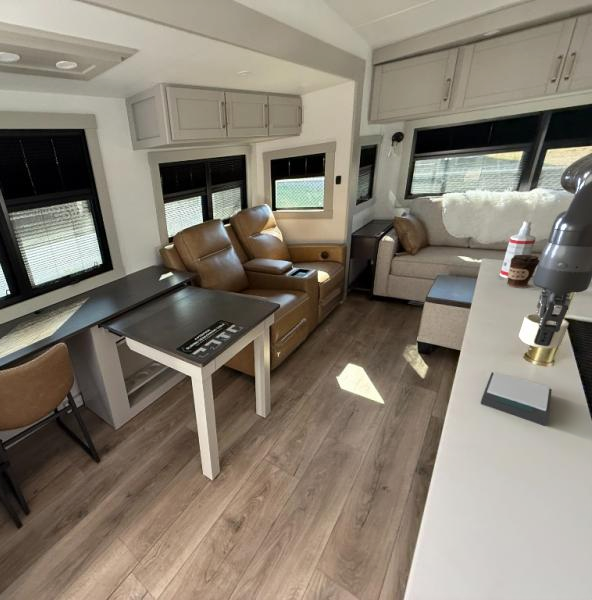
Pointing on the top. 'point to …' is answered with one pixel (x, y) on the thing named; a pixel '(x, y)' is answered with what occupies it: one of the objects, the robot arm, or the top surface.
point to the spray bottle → (518, 247)
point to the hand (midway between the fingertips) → (540, 337)
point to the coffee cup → (522, 270)
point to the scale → (518, 397)
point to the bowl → (531, 329)
